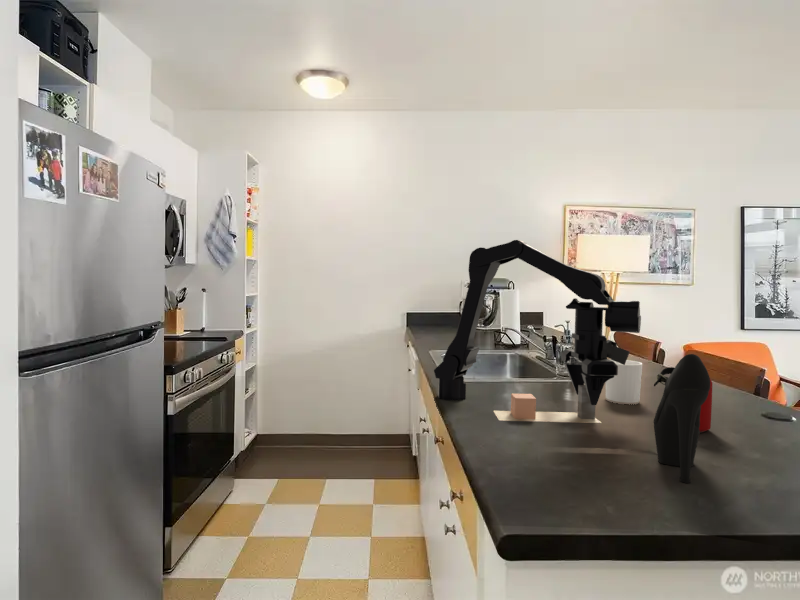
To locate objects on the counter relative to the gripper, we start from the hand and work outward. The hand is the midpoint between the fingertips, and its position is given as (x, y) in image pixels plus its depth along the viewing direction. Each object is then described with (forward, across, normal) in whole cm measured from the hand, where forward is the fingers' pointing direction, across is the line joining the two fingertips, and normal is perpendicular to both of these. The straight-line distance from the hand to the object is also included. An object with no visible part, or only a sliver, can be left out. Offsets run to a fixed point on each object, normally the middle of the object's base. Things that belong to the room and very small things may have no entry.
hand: (586, 399), depth 109 cm
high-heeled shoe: (+5, -26, -6) cm, 27 cm away
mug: (+5, +21, -16) cm, 27 cm away
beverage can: (+5, -4, -21) cm, 22 cm away
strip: (+5, 0, +9) cm, 10 cm away
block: (+4, 0, +14) cm, 14 cm away
